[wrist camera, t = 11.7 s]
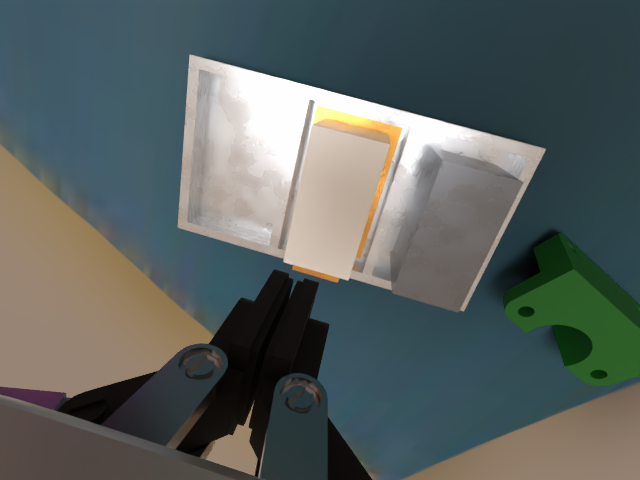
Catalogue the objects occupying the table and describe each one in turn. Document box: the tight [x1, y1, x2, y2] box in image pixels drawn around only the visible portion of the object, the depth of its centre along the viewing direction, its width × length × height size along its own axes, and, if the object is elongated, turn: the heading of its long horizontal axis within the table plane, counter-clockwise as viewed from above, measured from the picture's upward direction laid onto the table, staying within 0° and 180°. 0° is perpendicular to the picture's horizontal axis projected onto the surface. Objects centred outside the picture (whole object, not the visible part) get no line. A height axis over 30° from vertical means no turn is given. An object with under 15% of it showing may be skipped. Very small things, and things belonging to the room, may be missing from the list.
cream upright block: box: [283, 118, 390, 281], centre depth 26 cm, size 10×5×6 cm, turn 167°
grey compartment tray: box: [178, 55, 546, 313], centre depth 27 cm, size 26×14×6 cm, turn 76°
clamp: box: [503, 233, 640, 386], centre depth 28 cm, size 12×6×9 cm, turn 45°
